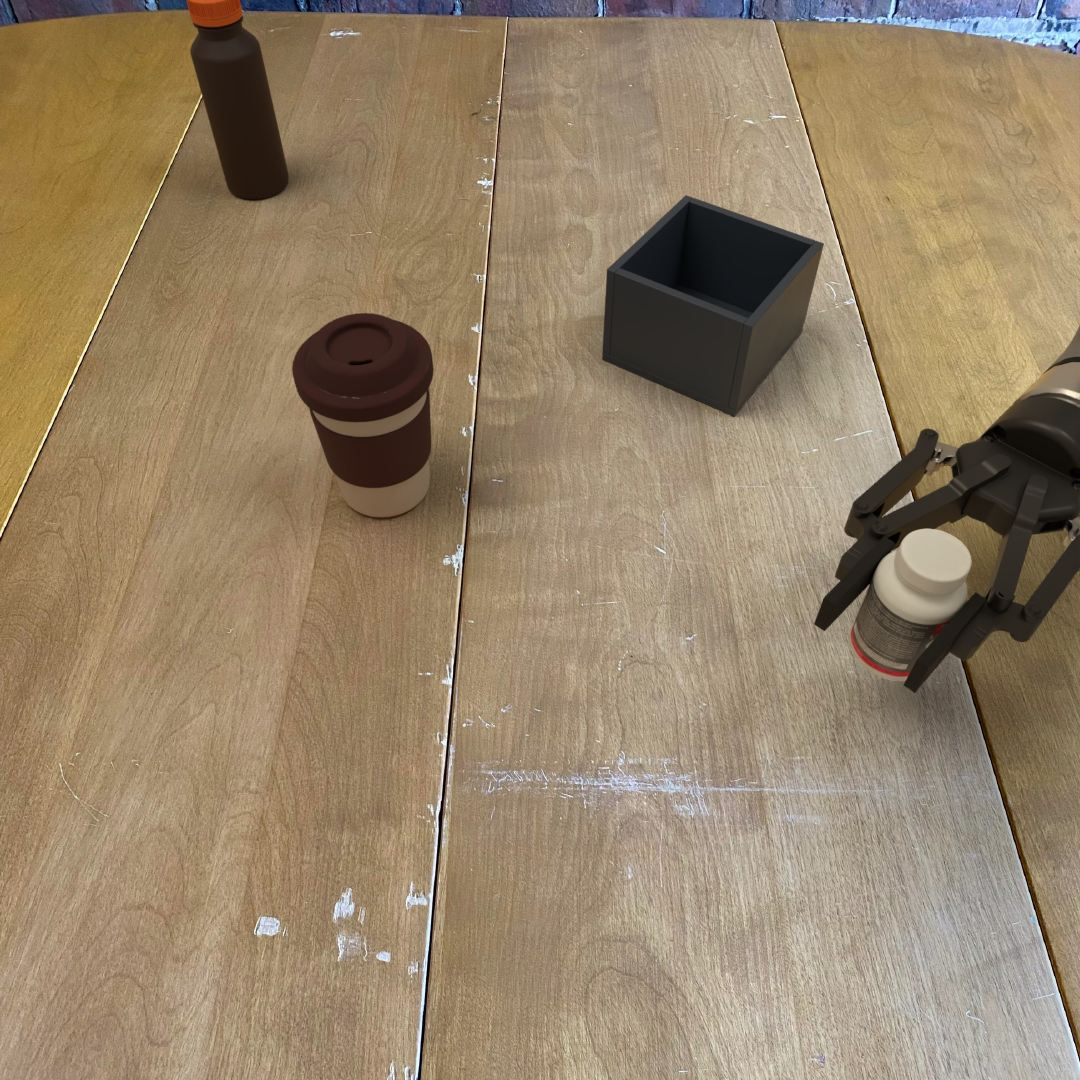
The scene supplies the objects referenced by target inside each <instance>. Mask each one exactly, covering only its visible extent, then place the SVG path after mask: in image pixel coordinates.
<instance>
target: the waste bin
mask: <svg viewBox="0 0 1080 1080" xmlns="http://www.w3.org/2000/svg"><path fill="white" fill-rule="evenodd" d="M824 246H825V243H824V242H821V241H819V240H815V239H813V238H810V237H807V236H804V235H801V234H798V233H796V232H793V231H790V230H787V229H784V228H782V227H778V226H776V225H773V224H770V223H767V222H764V221H762V220H759V219H757V218H752V217H749V216H748V215H744V214H741V213H739V212H735V211H733V210H729V209H727V208H723V207H722V206H718V205H716V204H713V203H710V202H707V201H705V200H701V199H698V198H696V197H693V196H689V195H684V196H683V197H682V198H681V199H680V200H679V201H678V202H677V203H675V204H674V206H672V207H671V208H670V209H669V210H668V211H667V212H666V213H665V214H664V215H663V216H662V217H661V218H660V219H658V220H657V221H656V222H655V223H654V224H653V225H652V226H651V227H650V228H649V229H648V230H646V231H645V233H643V235H642V236H640V237H639V238H638V239H637V240H636V241H635V242H634V243H633V244H632V245H631V246H630V247H629V248H627V250H626V251H624V253H623V254H622V255H621V256H619V257H618V258H617V259H616V260H615V261H614V262H613V263H611V264H610V266H608V268H606V280H605V281H606V283H605V296H604V297H605V298H604V315H603V316H604V317H603V320H604V321H603V332H602V335H603V337H602V356H601V359H602V360H603V361H606V362H608V363H610V364H612V365H615V366H617V367H619V368H621V369H623V370H625V371H629V372H630V373H632V374H635V375H637V376H639V377H642V378H644V379H646V380H649V381H651V382H654V383H656V384H658V385H660V386H662V387H665V388H667V389H669V390H672V391H674V392H677V393H679V394H681V395H683V396H686V397H688V398H690V399H692V400H695V401H698V402H699V403H702V404H705V405H706V406H709V407H712V408H713V409H716V410H719V411H720V412H723V413H725V414H727V415H729V416H732V417H736V416H737V414H739V412H740V411H741V410H742V408H743V407H744V406H745V405H746V404H747V402H748V401H749V400H750V398H752V396H753V395H754V394H755V392H756V391H757V390H758V389H759V387H760V386H761V385H762V383H764V381H765V380H766V379H767V377H768V376H769V375H770V374H771V372H772V371H773V370H774V368H775V367H776V366H777V365H778V364H779V363H780V361H781V360H782V358H783V357H784V356H785V355H786V354H787V353H788V351H789V350H790V349H791V347H792V346H793V345H794V344H795V342H796V341H797V340H798V338H800V336H801V335H802V334H803V329H804V326H805V323H806V322H805V321H806V318H807V314H808V311H809V305H810V302H811V298H812V293H813V290H814V286H815V282H816V279H817V273H818V270H819V266H820V262H821V257H822V253H823V249H824Z"/></svg>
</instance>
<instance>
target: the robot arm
mask: <svg viewBox="0 0 1080 1080" xmlns="http://www.w3.org/2000/svg"><path fill="white" fill-rule="evenodd" d="M939 438H940V435H939V433H938V431H936V430H935V429H932V428H923V429H922V430H921V431H920V433H919V435H918V437H917V440H916V443H915V444H914V448H912V450H911V451H909V452H908V453H907V454H906V455H905V456H904V457H902V459H900V461H898V462H897V463H896V464H895V465H893V467H892V468H890V469H889V470H888V471H887V472H886V473H884V474H883V475H882V476H881V477H879V479H878V480H877V481H875V482H874V483H873V484H872V485H871V486H870V487H869V488H867V489H866V490H865V491H864V492H863V493H862V494H861V495H860V496H858V497H857V498H856V499H855V500H854V501H853V503H852V504H851V508H850V511H849V513H848V516H847V519H846V522H845V525H844V527H843V532H844V533H845V535H846V536H848V537H849V538H853V539H856V540H857V541H856V542H854V543H853V544H852V545H851V546H850V547H849V548H848V549H847V550H846V551H845V552H844V553H843V554H842V555H841V557H840V559H839V562H838V565H837V567H836V571H835V573H834V578H835V579H837V580H838V582H837V583H836V584H835V585H834V587H832V589H830V590H829V591H828V592H827V593H826V594H825V595H824V596H823V598H822V601H821V604H820V606H819V608H818V612H817V614H816V617H815V620H814V623H813V625H814V626H816V627H817V628H818V629H820V630H822V631H823V632H826V631H827V629H828V628H829V627H831V625H833V623H834V622H835V621H837V619H838V618H839V617H840V616H841V615H842V614H843V613H844V611H846V610H847V609H848V607H850V606H851V605H852V603H854V602H855V600H856V599H857V598H858V597H859V596H861V594H862V593H863V592H865V590H866V589H868V588H869V585H870V583H871V580H872V578H873V575H874V573H875V570H876V568H877V566H878V564H879V563H880V561H881V560H882V559H883V558H884V557H885V556H886V555H888V554H889V553H891V552H893V551H895V550H897V549H898V548H899V546H900V544H901V542H902V541H903V539H904V538H905V537H906V536H907V535H908V534H909V533H911V532H913V531H915V530H919V529H937V528H940V527H941V526H943V525H945V524H947V523H950V524H955V523H956V522H958V521H960V520H962V519H964V518H965V517H969V518H970V519H972V520H975V521H979V522H981V523H983V524H985V525H986V526H987V527H988V528H990V529H991V530H992V531H993V532H995V533H996V534H998V535H1000V536H1001V538H1000V541H999V544H998V548H997V555H996V558H995V561H994V564H993V567H992V570H991V573H990V577H989V579H988V583H987V585H986V589H985V592H984V596H983V595H981V594H979V593H978V592H976V591H975V592H974V593H973V594H972V595H971V596H970V597H969V599H967V600H966V603H965V605H964V606H963V607H962V608H961V609H960V610H959V612H958V613H957V614H956V615H955V616H954V617H953V618H952V620H951V621H950V622H949V623H948V624H947V625H946V627H945V628H944V629H943V630H942V631H941V632H940V633H939V635H938V636H937V637H936V638H935V639H934V640H933V642H932V643H931V644H930V645H929V646H928V647H927V648H926V650H925V651H924V652H923V653H922V654H921V655H920V657H919V658H918V659H917V660H916V662H915V664H914V666H913V668H912V670H911V672H910V674H909V675H908V677H907V679H906V681H904V683H903V686H904V687H905V688H906V689H908V690H909V691H911V692H913V693H914V694H916V693H917V692H918V690H919V689H920V688H921V687H922V685H924V683H925V682H926V681H927V680H928V679H929V677H930V676H931V675H932V674H933V673H934V671H935V670H936V669H937V668H938V667H939V666H940V665H941V663H942V662H943V661H944V659H946V658H947V656H948V655H949V654H952V655H953V656H955V657H956V658H958V659H959V660H961V661H963V662H965V661H967V660H970V659H971V658H972V657H973V656H974V655H975V654H976V652H977V651H979V649H980V648H981V646H982V645H983V644H984V643H985V642H986V640H988V638H989V637H990V636H991V634H993V633H995V632H1005V633H1008V634H1009V635H1010V637H1011V638H1012V640H1014V641H1016V642H1018V643H1027V642H1028V641H1030V640H1031V638H1032V637H1033V635H1034V634H1035V633H1036V631H1037V630H1038V628H1039V627H1040V625H1041V624H1042V623H1043V621H1044V620H1045V618H1046V617H1047V615H1048V614H1049V613H1050V611H1051V610H1052V609H1053V607H1054V606H1055V605H1056V603H1057V601H1058V600H1060V597H1062V595H1063V593H1064V592H1065V590H1066V589H1067V587H1068V586H1069V585H1070V583H1071V582H1072V581H1073V579H1074V578H1075V577H1076V575H1077V574H1078V573H1079V572H1080V325H1079V326H1078V328H1077V330H1076V331H1075V334H1074V335H1073V337H1072V339H1071V341H1070V343H1069V344H1068V346H1066V348H1065V349H1064V350H1063V352H1062V353H1061V354H1060V355H1059V356H1058V358H1056V360H1055V361H1054V362H1053V363H1052V364H1051V365H1050V366H1049V367H1048V368H1047V369H1046V370H1045V371H1044V372H1043V373H1042V374H1041V375H1040V376H1039V377H1038V378H1037V379H1036V380H1035V381H1034V382H1033V383H1032V384H1031V385H1029V387H1027V389H1026V390H1025V391H1023V393H1022V394H1020V395H1019V396H1018V398H1016V399H1015V401H1013V403H1012V404H1011V405H1010V406H1009V407H1008V408H1007V409H1006V410H1005V411H1004V412H1003V413H1002V414H1001V415H1000V416H999V417H998V418H997V419H996V420H995V421H994V422H993V423H992V424H991V425H990V426H989V427H988V428H987V429H986V430H985V431H984V432H983V433H982V434H981V435H980V437H978V438H977V439H975V440H974V441H970V442H964V443H963V444H961V445H960V446H959V447H958V446H954V445H950V444H947V443H944V442H941V441H939ZM943 467H950V469H951V476H952V479H951V480H950V481H949V482H948V483H947V484H946V485H943V486H941V487H940V488H937V489H936V490H933V491H931V492H930V493H927V494H925V495H923V496H921V497H918V499H915V500H914V501H912V502H909V503H907V504H905V505H904V506H901V507H899V508H897V509H895V510H894V511H891V512H890V513H888V512H889V511H890V510H891V509H893V508H894V507H895V506H897V504H898V503H899V502H900V501H902V499H904V498H905V497H906V496H907V495H908V494H909V493H910V492H911V491H912V490H914V488H915V487H917V486H918V485H919V484H920V483H921V481H922V479H923V477H924V476H929V477H930V476H932V475H933V473H935V472H938V471H939V470H940V469H941V468H943ZM887 513H888V514H887ZM1056 532H1057V533H1058V532H1065V534H1066V536H1065V537H1064V539H1063V541H1062V545H1063V547H1064V549H1063V552H1062V554H1061V555H1060V557H1059V558H1058V559H1057V561H1056V562H1055V563H1054V565H1053V566H1052V568H1051V569H1050V570H1049V572H1048V573H1047V574H1046V576H1045V577H1044V578H1043V580H1042V581H1041V583H1039V585H1038V586H1037V587H1036V589H1035V590H1034V592H1033V593H1032V595H1030V597H1029V599H1028V600H1027V601H1026V603H1025V604H1022V603H1019V602H1016V601H1014V600H1015V599H1016V597H1017V595H1015V593H1016V589H1017V586H1018V582H1019V579H1020V575H1021V572H1022V570H1023V566H1024V562H1025V559H1026V556H1027V552H1028V549H1029V546H1030V542H1031V539H1032V536H1036V535H1043V534H1050V533H1056Z"/></svg>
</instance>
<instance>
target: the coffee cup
mask: <svg viewBox="0 0 1080 1080" xmlns="http://www.w3.org/2000/svg"><path fill="white" fill-rule="evenodd" d="M291 366H292V368H291V372H292V378H293V381H294V386H295V389H296V391H297V394H298V396H299V398H300V400H301V401H302V402H303V403H304V405H305V406H307V408H308V410H309V415H310V417H311V420H312V422H313V425H314V428H315V431H316V434H317V436H318V440H319V443H320V445H321V449H322V451H323V453H324V457H325V460H326V462H327V464H328V467H329V469H330V470H331V472H333V474H334V476H335V480H336V483H337V485H338V488H339V491H340V494H341V496H342V498H343V500H344V501H345V503H346V504H347V505H348V506H349V507H350V508H351V509H352V510H354V511H355V512H357V513H359V514H361V515H363V516H368V517H372V518H392V517H397V516H400V515H403V514H405V513H407V512H409V511H411V510H413V508H415V507H417V506H418V505H419V504H420V503H421V502H422V501H423V499H424V498H425V497H426V495H427V493H428V491H429V489H430V485H431V484H430V483H431V467H430V456H431V452H432V423H431V419H432V418H431V397H430V396H431V395H430V387H431V384H432V381H433V377H434V360H433V353H432V348H431V346H430V344H429V342H428V340H427V339H426V338H425V337H424V335H423V334H422V333H421V332H419V331H418V330H417V329H415V328H414V327H413V326H412V325H409V324H407V323H404V322H402V321H400V320H396V319H393V318H390V317H387V316H385V315H383V314H378V313H370V312H359V313H351V314H347V315H346V314H345V315H344V316H340V317H338V318H335V319H332V320H331V321H329V322H327V323H326V324H325V325H323V326H322V327H320V329H318V330H317V331H316V332H314V333H313V334H311V335H310V336H309V337H308V338H307V339H306V340H304V341H303V343H302V344H301V345H300V346H299V348H298V349H297V351H296V353H295V355H294V358H293V360H292V365H291Z"/></svg>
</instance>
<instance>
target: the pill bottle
mask: <svg viewBox="0 0 1080 1080" xmlns="http://www.w3.org/2000/svg"><path fill="white" fill-rule="evenodd" d="M972 562H973V561H972V556H971V553H970V551H969V549H968V547H966V545H965V544H964V543H963V542H962V541H961V540H960V539H959V538H957V537H956V536H955V535H953V534H950V533H949V532H947V531H944V530H941V529H937V528H935V529H919V530H915V531H913V532H911V533H909V534H908V535H907V536H906V537H905V538H904V539H903V541H902V542H901V544H900V546H899V547H898V548H896V549H895V550H893V551H891V553H889V554H888V555H886V556H885V557H884V558H883V559H882V560H881V561H880V563H879V564H878V566H877V568H876V570H875V573H874V575H873V578H872V580H871V583H870V585H869V586H868V587H867V590H866V592H865V595H864V597H863V599H862V601H861V604H860V607H859V609H858V611H857V613H856V617H855V619H854V621H853V623H852V626H851V629H850V631H849V637H848V639H849V647H850V649H851V652H852V654H853V657H854V658H855V660H856V661H857V662H858V663H859V664H860V666H861V667H862V668H864V669H865V670H866V671H868V673H870V674H872V675H874V676H875V677H878V678H881V679H884V680H887V681H892V682H905V681H906V679H907V677H908V675H909V674H910V672H911V670H912V668H913V666H914V664H915V662H916V660H917V659H918V658H919V657H920V655H921V654H922V653H923V652H924V651H925V650H926V648H927V647H928V646H929V645H930V644H931V643H932V642H933V640H934V639H935V638H936V637H937V636H938V635H939V633H940V632H941V631H942V630H943V629H944V628H945V627H946V625H947V624H948V623H949V622H950V621H951V620H952V618H953V617H954V616H955V615H956V614H957V613H958V612H959V610H960V609H961V608H962V607H963V606H964V605H965V603H966V602H967V601H968V592H969V591H968V584H967V581H966V580H967V578H968V575H969V573H970V571H971V568H972Z"/></svg>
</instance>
